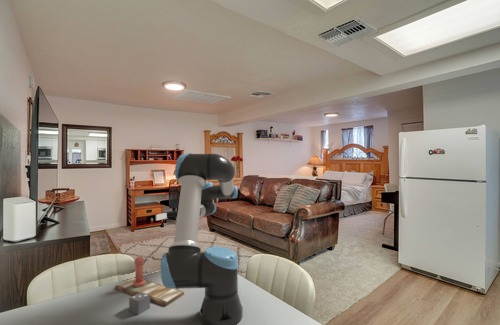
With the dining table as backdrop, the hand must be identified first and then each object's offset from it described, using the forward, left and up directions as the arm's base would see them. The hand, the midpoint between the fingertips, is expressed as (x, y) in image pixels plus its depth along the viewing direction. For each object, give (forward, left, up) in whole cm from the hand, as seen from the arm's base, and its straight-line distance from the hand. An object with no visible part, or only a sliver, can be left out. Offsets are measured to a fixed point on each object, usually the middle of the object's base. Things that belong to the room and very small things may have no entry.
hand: (166, 219), depth 120 cm
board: (-3, +13, -28) cm, 31 cm away
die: (-11, +24, -28) cm, 38 cm away
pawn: (+3, +13, -27) cm, 30 cm away
